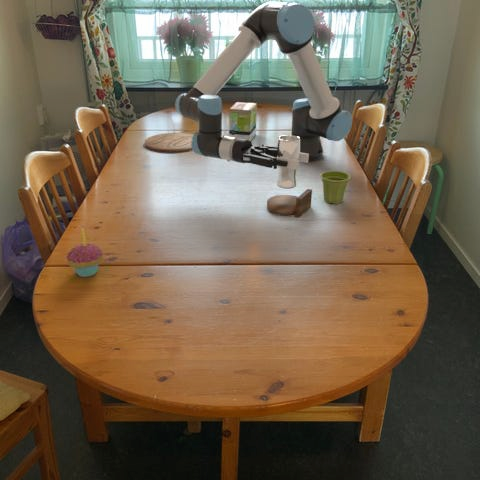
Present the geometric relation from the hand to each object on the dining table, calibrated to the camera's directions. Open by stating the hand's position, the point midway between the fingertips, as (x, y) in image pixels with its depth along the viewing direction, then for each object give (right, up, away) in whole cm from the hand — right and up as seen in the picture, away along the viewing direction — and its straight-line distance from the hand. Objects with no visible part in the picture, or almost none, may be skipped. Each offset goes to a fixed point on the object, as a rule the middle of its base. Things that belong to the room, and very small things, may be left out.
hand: (303, 161), depth 149 cm
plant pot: (+12, -11, +15) cm, 22 cm away
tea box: (-18, +23, +80) cm, 85 cm away
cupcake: (-57, -32, -25) cm, 70 cm away
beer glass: (-4, -7, +6) cm, 10 cm away
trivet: (-48, +18, +71) cm, 88 cm away
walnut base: (-4, -13, +10) cm, 17 cm away
